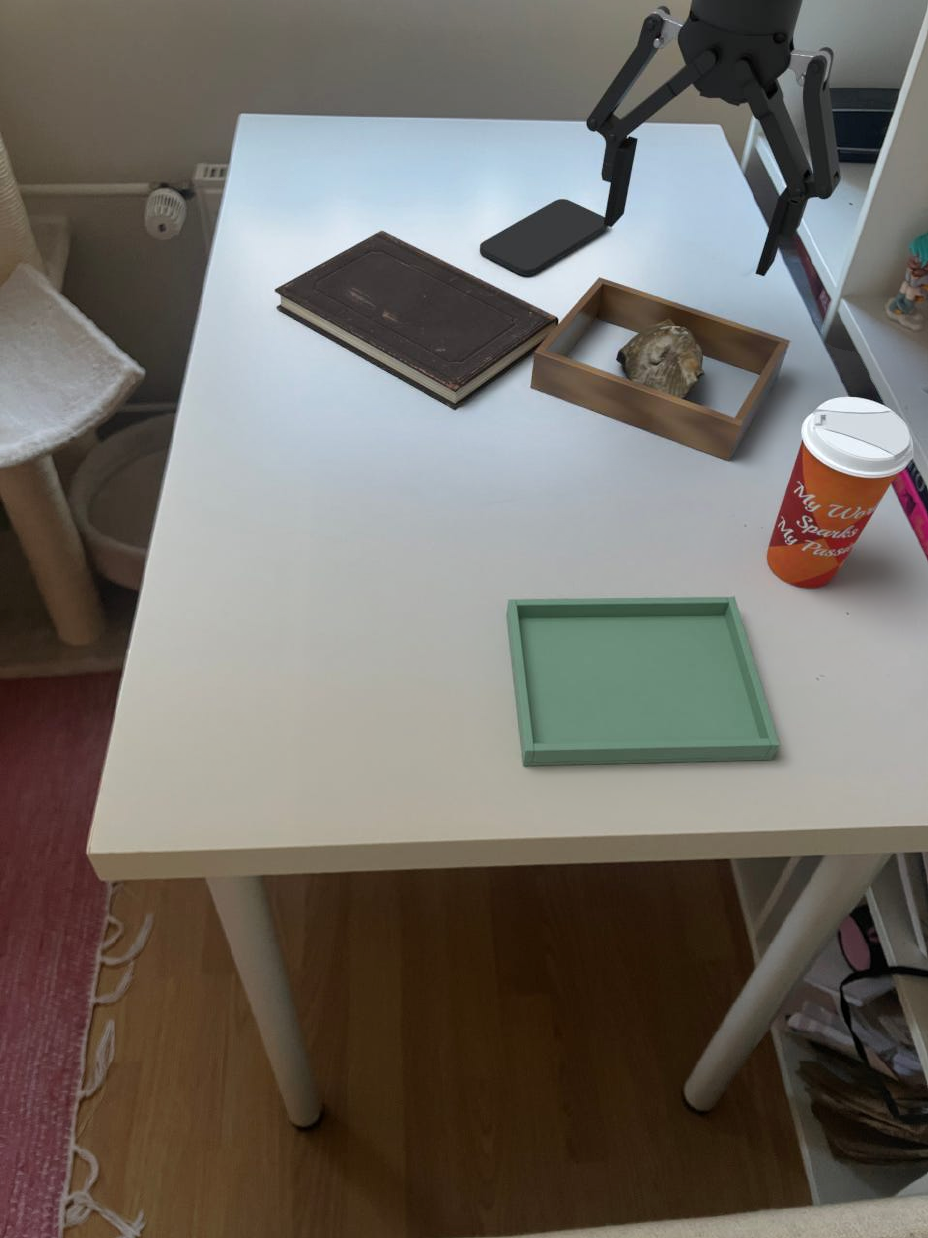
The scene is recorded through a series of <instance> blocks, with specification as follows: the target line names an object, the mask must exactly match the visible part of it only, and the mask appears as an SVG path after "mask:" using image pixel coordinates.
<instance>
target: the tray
mask: <svg viewBox="0 0 928 1238" xmlns="http://www.w3.org/2000/svg"><path fill="white" fill-rule="evenodd" d="M505 616H506V627H507V633H508V643H509V645H508V646H509V652H510V653H509V654H510V662H511V671H512V679H513V680H512V681H513V690H514V696H515V698H514V699H515V707H516V717H517V724H518V734H519V735H518V736H519V743H520V752H521V762H522V763H521V764H522V767H530V766H531V767H532V766H534V767H535V766H537V767H538V766H567V765H568V766H573V765H576V766H577V765H607V764H608V765H612V764H613V765H615V764H616V765H617V764H656V763H657V764H659V763H661V764H662V763H698V762H699V763H701V762H737V761H738V762H739V761H740V762H741V761H772V760H773V759H774V757H775V755H776V753H777V751H778V749H779V748H780V745H781V744H780V741H779V738H778V734H777V731H776V727H775V725H774V722H773V718H772V714H771V712H770V708H769V705H768V701H767V698H766V695H765V691H764V688H763V685H762V681H761V678H760V675H759V672H758V669H757V665H756V662H755V659H754V656H753V652H752V649H751V646H750V643H749V639H748V636H747V632H746V628H745V626H744V623H743V619H742V616H741V613H740V609H739V606H738V603H737V600H736V597H735V596H701V597H700V596H697V597H696V596H693V597H692V596H691V597H687V596H685V597H684V596H683V597H607V598H606V597H605V598H604V597H603V598H602V597H601V598H599V597H598V598H521V599H520V598H517V599H516V598H515V599H508V600H507V607H506V615H505Z"/></svg>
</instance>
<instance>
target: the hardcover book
mask: <svg viewBox="0 0 928 1238" xmlns="http://www.w3.org/2000/svg"><path fill="white" fill-rule="evenodd" d="M274 293H276V294H278V295H279V296H280V304H278V305H277V306H276V310H278V311H279V312H281V313H284V314H285V315H287V316H288V317H291V318H292V319H294V320H296V321H298V323H301V324H303V325H305V326H306V327H308V328H310V329H312V330H313V331H315V332H317V333H318V334H321V336H324V337H325V338H327V339H329V340H331V341H333V342H334V343H336V344H338V345H339V346H342V347H343V348H345V349H347V350H349V351H351V352H353V353H354V354H356V355H358V356H360V357H361V358H363V359H365V360H366V361H368V362H370V363H372V364H374V365H375V366H377V367H379V368H380V369H382V370H384V371H386V372H388V373H389V374H391V375H392V376H394V377H397V378H398V379H400V380H402V381H403V382H405V383H407V384H409V385H411V386H413V387H414V388H416V389H418V390H420V391H421V392H422V393H425V394H426V395H428V396H430V397H432V398H434V399H435V400H437V401H439V402H440V403H443V404H444V405H445V406H447V407H449V408H451V409H453V410H455V409H457V408H458V407H460V406H461V405H463V404H464V403H465V402H466V401H468V400H469V399H471V398H472V397H473V396H475V395H476V394H477V393H479V392H480V391H481V390H483V389H484V388H486V387H487V386H489V385H490V384H491V383H493V382H494V381H495V380H497V379H499V377H501V376H502V375H503V374H505V373H506V372H508V371H509V370H510V369H512V368H513V367H515V366H516V365H517V364H519V363H520V362H521V361H523V360H524V359H525V358H527V357H528V356H529V355H531V354H533V353H535V351H536V349H537V348H538V347H539V346H540V345H541V344H542V342H543V341H544V340H545V339H546V338H547V337H548V336H549V334H550V333H551V332H552V331H553V330H554V329H555V327H556V326H557V325H558V324H559V323H560V322H559V321H560V320H559V317H557V316H556V315H554V314H552V313H550V312H548V311H546V310H544V309H542V308H540V307H537V306H536V305H534V304H531V303H529V302H527V301H525V300H523V299H522V298H520V297H517V296H516V295H513V294H511V293H509V292H507V291H505V290H503V289H501V288H499V287H498V286H495V285H493V284H491V283H489V282H487V281H485V280H483V279H481V278H479V277H477V276H475V275H473V274H471V273H469V272H467V271H465V270H463V269H461V268H459V267H456V266H455V265H453V264H451V263H448V262H447V261H444V260H443V259H441V258H439V257H437V256H435V255H432V254H431V253H429V252H427V251H425V250H422V249H420V248H418V247H417V246H414V245H412V244H411V243H408V242H406V241H405V240H402V239H401V238H398V237H396V236H394V235H393V234H390V233H388V232H386V231H384V230H379V231H378V232H376V233H374V234H372V235H371V236H369V237H367V238H365V239H363V240H362V241H360V242H358V243H356V244H354V245H352V246H351V247H349V248H347V249H345V250H344V251H342V252H340V253H338V254H336V255H334V256H332V257H330V258H329V259H327V260H325V261H323V262H321V263H320V264H318V265H316V266H315V267H312V268H310V269H309V270H307V271H305V272H303V273H302V274H300V275H298V276H296V277H295V278H292V279H291V280H289V281H287V282H285V283H284V284H282V285H280V286H278V287H277V288H274Z"/></svg>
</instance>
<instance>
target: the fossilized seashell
mask: <svg viewBox="0 0 928 1238" xmlns="http://www.w3.org/2000/svg"><path fill="white" fill-rule="evenodd" d="M615 361H616V362H617V363H619V364H621V365H622V366H624V368H625V373H626V375H627V379H628V380H631V381H633V382H636V383H639V384H642V385H645V386H647V387H650V388H653V389H656V390H658V391H661V392H664V393H667V394H670V395H672V396H675V397H678V398H681V399H683V400H685V398H686V397H687V396H688V395H689V394H690V392H691V391H692V389H693V388H695V386H696V384H698V382H699V380H700V379H701V377H702V376H704V375H705V372H704V370H703V361H704V355H702V350H701V348H700V346H699V345H698V344H697V343H696V342H695V339H694V336H693V334H692V333H691V332H690V331H689V330H688V329H686V328H684V327H679V326H675V325H674V324H673V323H672V321H671V320H670V319H667V320H665V321H664V322H661V323H659V324H657V325H653V326H650V327H647V328H645V329H644V330H642V331H640V332H639V333H638V332H637V334H635V335H634V336H633V337H632V338H630V339H629V341H628V342H627V343H625V345H624V346H622V348H620V349H619V350H618V352H617V354H616V358H615Z"/></svg>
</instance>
